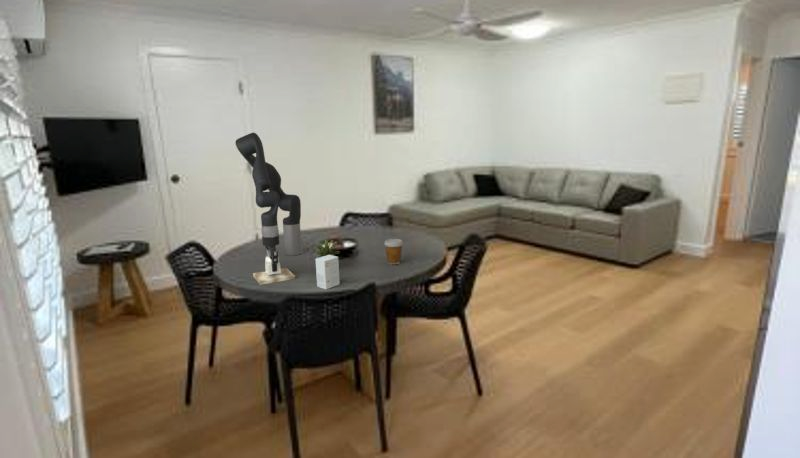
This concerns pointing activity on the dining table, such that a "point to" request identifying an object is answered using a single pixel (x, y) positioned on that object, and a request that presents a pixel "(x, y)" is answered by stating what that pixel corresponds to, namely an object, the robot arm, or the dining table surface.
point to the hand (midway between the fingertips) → (273, 269)
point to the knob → (269, 266)
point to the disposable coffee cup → (393, 250)
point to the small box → (327, 271)
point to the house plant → (326, 249)
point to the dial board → (273, 276)
